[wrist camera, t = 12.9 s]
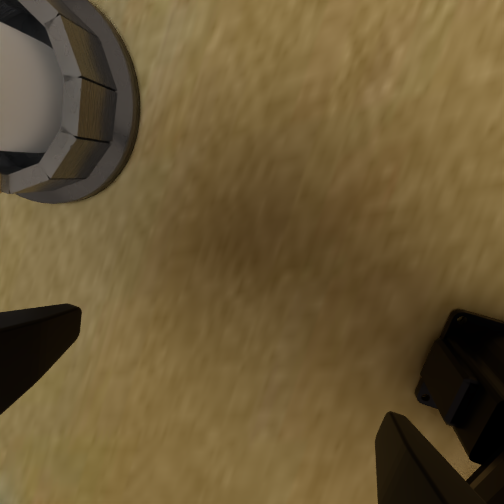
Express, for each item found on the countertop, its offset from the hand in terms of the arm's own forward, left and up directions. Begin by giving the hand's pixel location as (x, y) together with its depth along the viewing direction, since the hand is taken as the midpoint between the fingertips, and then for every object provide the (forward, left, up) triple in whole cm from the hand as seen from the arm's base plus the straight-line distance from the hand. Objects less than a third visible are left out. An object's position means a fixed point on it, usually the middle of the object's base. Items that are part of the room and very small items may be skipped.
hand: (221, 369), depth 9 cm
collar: (+17, -6, -12) cm, 22 cm away
